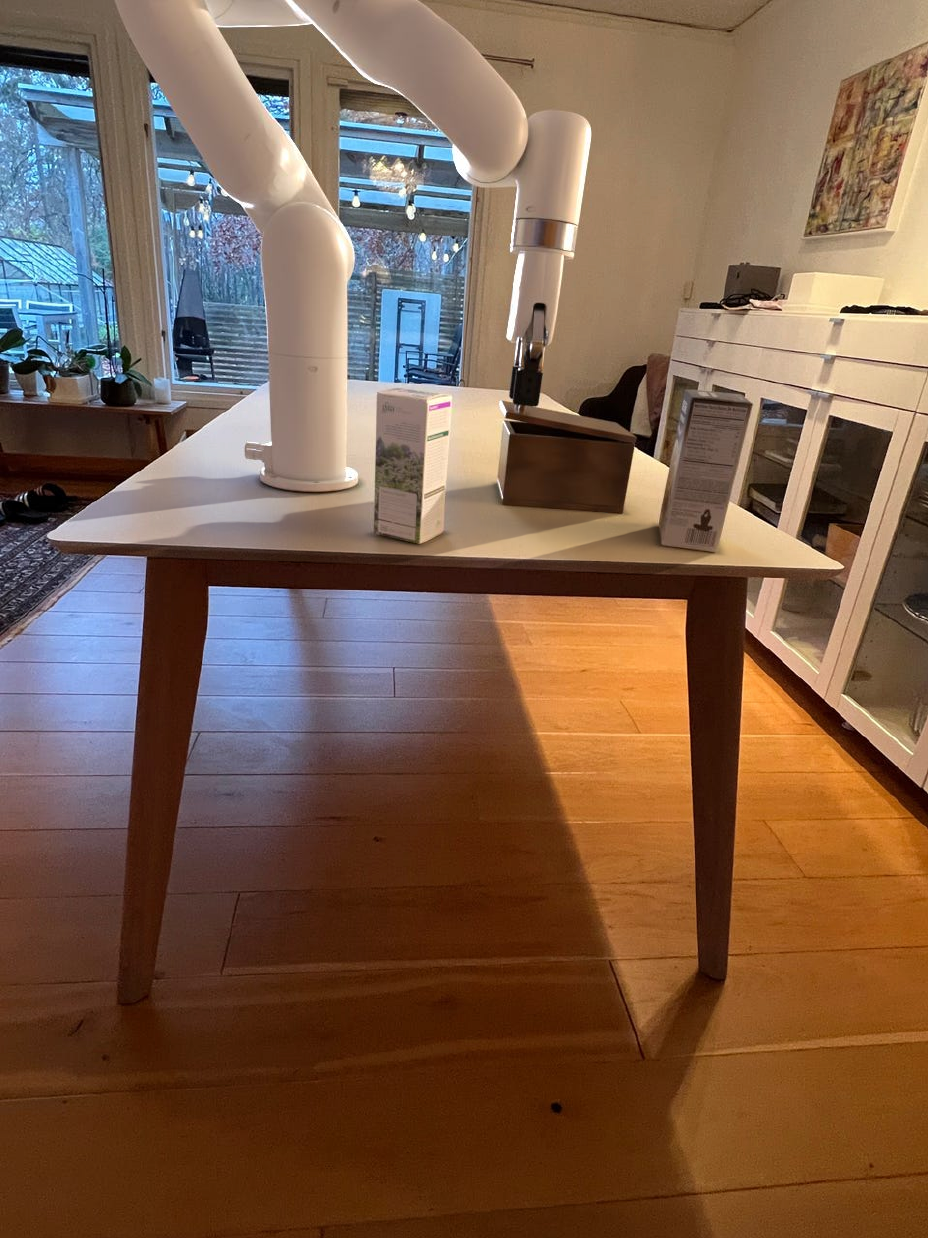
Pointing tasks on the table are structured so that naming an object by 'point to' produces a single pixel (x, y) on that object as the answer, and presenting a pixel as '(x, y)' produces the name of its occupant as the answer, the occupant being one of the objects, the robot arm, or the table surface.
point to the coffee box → (703, 468)
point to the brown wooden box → (562, 468)
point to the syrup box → (411, 463)
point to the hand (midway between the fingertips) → (523, 400)
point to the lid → (565, 421)
